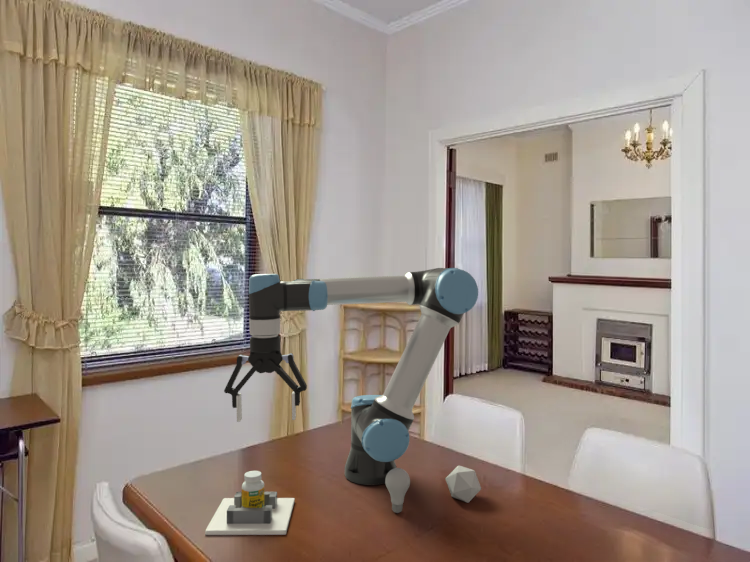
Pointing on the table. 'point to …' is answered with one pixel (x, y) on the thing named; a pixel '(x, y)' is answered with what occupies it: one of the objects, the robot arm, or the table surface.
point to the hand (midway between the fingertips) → (266, 419)
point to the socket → (251, 517)
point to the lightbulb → (397, 487)
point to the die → (463, 483)
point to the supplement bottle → (253, 490)
